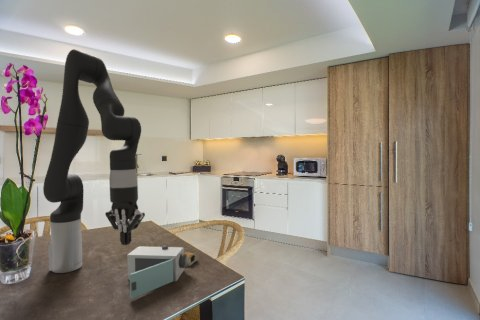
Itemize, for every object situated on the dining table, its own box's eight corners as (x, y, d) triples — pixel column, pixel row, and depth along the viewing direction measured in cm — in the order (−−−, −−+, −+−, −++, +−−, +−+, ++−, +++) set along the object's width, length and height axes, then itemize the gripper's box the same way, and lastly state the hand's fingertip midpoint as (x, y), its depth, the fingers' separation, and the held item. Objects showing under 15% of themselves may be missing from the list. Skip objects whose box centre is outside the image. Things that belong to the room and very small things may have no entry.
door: (132, 299, 78) (131, 274, 78) (129, 298, 79) (129, 273, 78) (176, 280, 89) (176, 258, 89) (174, 279, 90) (173, 257, 90)
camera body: (127, 279, 92) (127, 252, 91) (139, 269, 100) (138, 244, 99) (182, 281, 90) (181, 253, 90) (189, 270, 98) (188, 245, 98)
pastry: (167, 263, 105) (167, 253, 105) (177, 257, 111) (177, 247, 111) (189, 267, 101) (188, 256, 101) (198, 260, 107) (198, 250, 107)
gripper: (151, 184, 84) (152, 242, 85) (115, 183, 89) (117, 238, 89) (133, 187, 77) (135, 250, 78) (95, 186, 82) (98, 246, 82)
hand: (125, 244), depth 83 cm, fingers closed
